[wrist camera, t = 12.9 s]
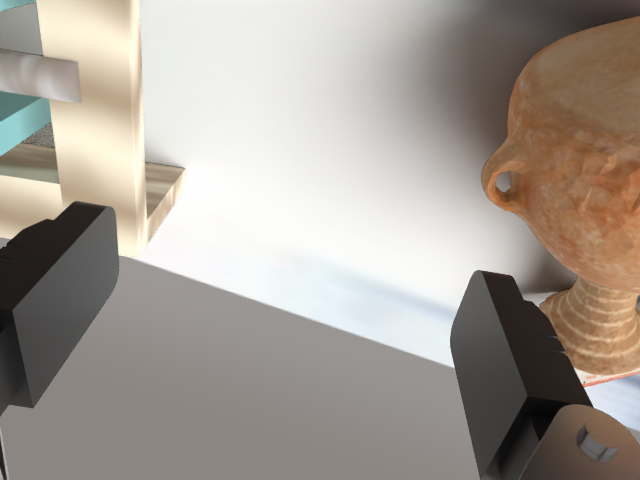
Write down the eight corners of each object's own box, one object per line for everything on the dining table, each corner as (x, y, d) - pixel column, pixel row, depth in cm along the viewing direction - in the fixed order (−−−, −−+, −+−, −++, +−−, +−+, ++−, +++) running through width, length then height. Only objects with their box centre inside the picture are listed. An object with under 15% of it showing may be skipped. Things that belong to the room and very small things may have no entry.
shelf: (-109, -182, 33) (-345, -248, 22) (188, -129, 34) (108, -167, 23) (-34, 154, 46) (-161, 223, 34) (185, 188, 46) (131, 267, 35)
